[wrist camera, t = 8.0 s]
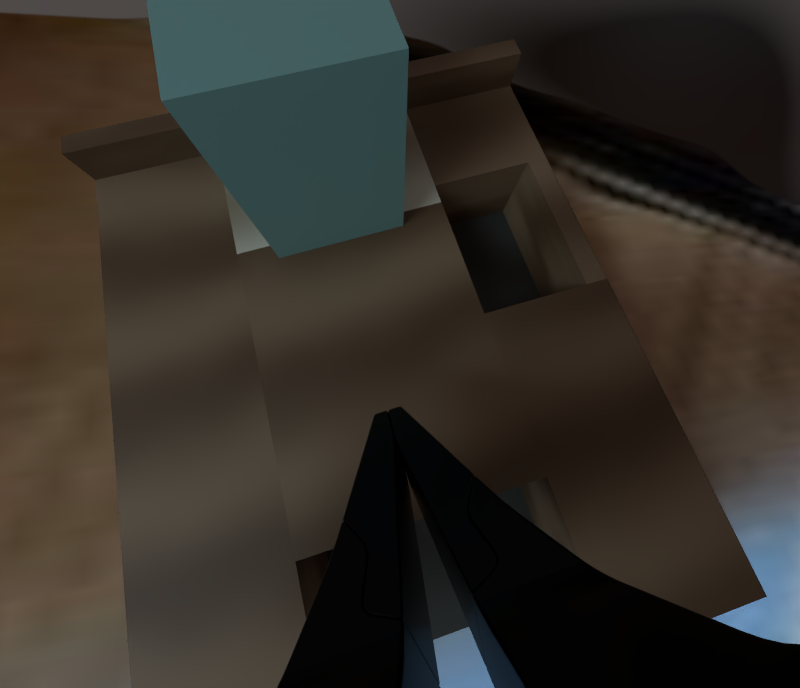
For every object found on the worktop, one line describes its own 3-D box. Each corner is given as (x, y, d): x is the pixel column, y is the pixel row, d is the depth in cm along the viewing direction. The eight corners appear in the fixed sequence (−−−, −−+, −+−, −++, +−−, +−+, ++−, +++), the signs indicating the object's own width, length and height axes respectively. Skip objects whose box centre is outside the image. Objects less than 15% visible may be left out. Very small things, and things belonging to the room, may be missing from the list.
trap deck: (667, 547, 14) (825, 625, 9) (219, 713, 13) (92, 926, 8) (483, 138, 20) (513, 39, 15) (157, 216, 19) (61, 136, 13)
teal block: (403, 225, 14) (408, 48, 7) (279, 258, 14) (161, 101, 7) (369, 129, 15) (347, -98, 9) (255, 155, 15) (137, -62, 8)
